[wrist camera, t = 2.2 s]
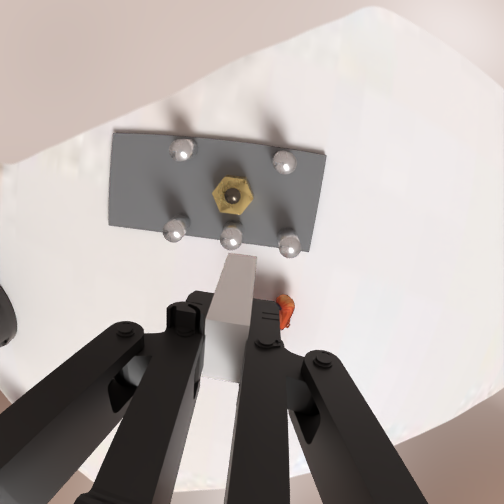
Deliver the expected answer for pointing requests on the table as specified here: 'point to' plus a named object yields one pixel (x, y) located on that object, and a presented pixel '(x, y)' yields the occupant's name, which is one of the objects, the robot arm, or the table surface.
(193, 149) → the spacer field
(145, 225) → the mat
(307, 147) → the table surface
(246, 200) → the nut
